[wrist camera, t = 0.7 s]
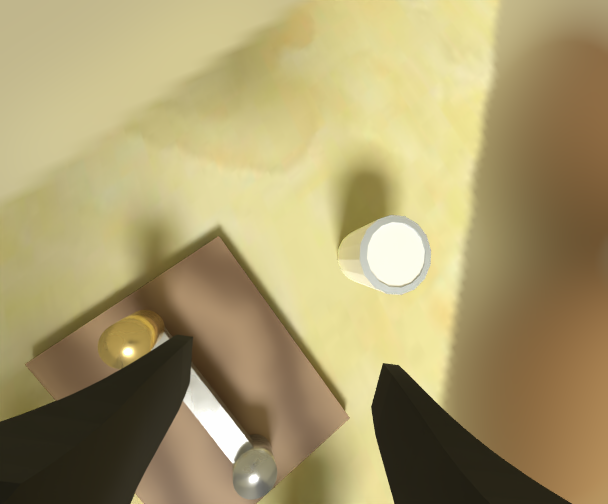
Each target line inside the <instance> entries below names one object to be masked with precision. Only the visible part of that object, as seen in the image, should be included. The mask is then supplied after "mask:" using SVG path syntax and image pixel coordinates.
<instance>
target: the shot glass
mask: <svg viewBox="0 0 608 504" xmlns="http://www.w3.org/2000/svg"><path fill="white" fill-rule="evenodd" d="M337 260H338V263H339V266H340V269H341V271H342V272H343V273H344V274H345V275H346V277H347V278H349V279H351V280H353V281H355V282H357V283H360V284H363V285H365V286H368V287H370V288H373V289H376V290H378V291H381V292H384V293H386V294H400V295H402V294H404V293H407V292H409V291H411V290H414V289H415V288H416V287H417V286H418V285H419V284H420V283H421V282H422V281H423V280H424V279H425V277H426V274H427V272H428V269H429V267H430V260H431V249H430V245H429V242H428V239H427V236H426V234H425V233H424V232H423V230H422V229H421V228H420V226H419V225H418V224H417V223H415V222H414V221H412V220H410V219H409V218H407V217H405V216H397V215H390V216H387V217H384V218H381V219H378V220H376V221H374V222H372V223H370V224H367V225H365V226H363V227H361V228H359V229H357V230H355V231H353V232H351V233H349V234H348V235H347V236H346V237H345V238H344V239H343V240H342V242H341V244H340V246H339V248H338V259H337Z"/></svg>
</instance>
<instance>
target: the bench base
mask: <svg viewBox="0 0 608 504" xmlns="http://www.w3.org/2000/svg"><path fill="white" fill-rule="evenodd" d="M139 310H151V311H153V312H155V313H157V314H158V315H159V316H160V317H161V318H162V320H163V322H164V326H165V328H166V329H167V330H168V332H169V333H170V334H171V335H172V337H173V336H175V335H184V336H191V337H193V346H192V362H193V364H194V365H195V366H196V368H197V369H198V370H199V372H200V373H201V374H202V375H203V377H204V378H205V379H206V381H207V382H208V383H209V384H210V386H211V387H212V388H213V390H214V391H215V392H216V393H217V395H218V396H219V397H220V399H221V400H222V401H223V402H224V404H225V405H226V406H227V408H228V409H229V410H230V411H231V413H232V414H233V415H234V417H235V418H236V419H237V421H238V422H239V423H240V424H241V426H242V427H243V428H244V430H245V431H246V432H247V433H248V435H253V434H257V435H261V436H263V437H265V438H266V439H267V440H268V441H269V442H270V444H271V448H272V451H273V455H274V459H275V463H276V467H277V479H276V482H275V484H274V486H273V488H274V487H275V486H276V485H277V484H278V483H279V482H280V481H281V480H283V479H284V478H285V477H286V476H287V475H288V474H289V473H290V472H291V471H292V470H294V469H295V468H296V467H297V466H298V465H299V464H300V463H301V462H302V461H303V460H304V459H306V458H307V457H308V456H309V455H310V454H311V453H312V452H313V451H314V450H315V449H317V448H318V447H319V446H320V445H321V444H322V443H323V442H324V441H325V440H326V439H328V438H329V437H330V436H331V435H332V434H333V433H334V432H335V431H336V430H337V429H339V428H340V427H341V426H342V425H343V424H344V423H345V422H346V421H347V420H348V419H349V416H348V415H347V413H346V412H345V411H344V409H343V408H342V406H341V405H340V404H339V402H338V401H337V399H336V398H335V397H334V395H333V394H332V393H331V391H330V390H329V388H328V387H327V386H326V384H325V383H324V381H323V380H322V379H321V377H320V376H319V374H318V373H317V372H316V370H315V369H314V367H313V366H312V365H311V363H310V362H309V361H308V359H307V358H306V356H305V355H304V354H303V352H302V351H301V349H300V348H299V347H298V345H297V344H296V342H295V341H294V340H293V338H292V337H291V336H290V334H289V333H288V331H287V330H286V329H285V327H284V326H283V324H282V323H281V322H280V320H279V319H278V317H277V316H276V315H275V313H274V312H273V310H272V309H271V308H270V306H269V305H268V304H267V302H266V301H265V299H264V298H263V297H262V295H261V294H260V292H259V291H258V290H257V288H256V287H255V285H254V284H253V283H252V281H251V280H250V279H249V277H248V276H247V274H246V273H245V272H244V270H243V269H242V267H241V266H240V265H239V263H238V262H237V260H236V259H235V258H234V256H233V255H232V253H231V252H230V251H229V249H228V248H227V247H226V245H225V244H224V242H223V241H222V240H221V238H220V237H219V236H218V237H216V238H215V239H213V240H212V241H210V242H209V243H207V244H206V245H204V246H203V247H201V248H200V249H198V250H197V251H195V252H194V253H192V254H191V255H189V256H188V257H186V258H185V259H183V260H182V261H180V262H179V263H177V264H176V265H174V266H173V267H171V268H170V269H168V270H167V271H165V272H163V273H162V274H160V275H159V276H157V277H156V278H154V279H153V280H151V281H150V282H148V283H147V284H145V285H144V286H142V287H141V288H139V289H138V290H136V291H135V292H133V293H132V294H130V295H129V296H127V297H126V298H124V299H123V300H121V301H120V302H118V303H117V304H115V305H114V306H112V307H111V308H109V309H108V310H106V311H104V312H103V313H101V314H100V315H98V316H97V317H95V318H94V319H92V320H91V321H89V322H88V323H86V324H85V325H83V326H82V327H80V328H79V329H77V330H76V331H74V332H73V333H71V334H70V335H68V336H67V337H65V338H64V339H62V340H61V341H59V342H58V343H56V344H55V345H53V346H52V347H50V348H49V349H47V350H45V351H44V352H42V353H41V354H39V355H38V356H36V357H35V358H33V359H32V360H30V361H29V362H27V363H26V364H25V365H26V366H27V367H28V369H29V370H30V371H31V372H32V373H33V374H34V376H35V377H36V378H37V379H38V380H39V381H40V383H41V384H42V385H43V386H44V387H45V388H46V390H47V391H48V392H49V393H50V394H51V395H52V397H53V398H54V399H55V400H56V401H57V400H59V399H62V398H64V397H67V396H69V395H71V394H73V393H76V392H78V391H80V390H82V389H84V388H86V387H88V386H90V385H92V384H94V383H96V382H98V381H100V380H102V379H104V378H106V377H108V376H110V375H111V374H113V373H115V372H117V371H118V370H120V369H116V368H112V367H110V366H108V365H107V364H105V363H104V362H103V361H102V359H101V358H100V356H99V353H98V341H99V338H100V336H101V335H102V333H103V332H104V331H105V330H106V329H107V328H108V327H109V326H111V325H113V324H114V323H116V322H118V321H120V320H122V319H123V318H125V317H127V316H129V315H131V314H132V313H134V312H136V311H139ZM273 488H272V489H273ZM272 489H271V490H272ZM135 494H136V495H137V496H138V497H139V498H140V499H141V501H142V502H143V503H144V504H256V503H257V502H258V501H260V500H261V499H262V498H263V497H264V496H265V495H264V496H263V497H261V498H258V499H252V500H251V499H245V498H243V497H241V496H240V495H238V493H237V492H236V491H235V489H234V486H233V472H232V462H231V460H230V459H229V458H228V457H227V455H226V454H225V453H224V452H223V450H222V449H221V448H220V447H219V445H218V444H217V443H216V442H215V440H214V439H213V438H212V437H211V435H210V434H209V433H208V432H207V430H206V429H205V428H204V426H203V425H202V424H201V423H200V421H199V420H198V419H197V418H196V416H195V415H194V414H193V413H192V411H191V410H190V409H189V408H188V406H187V405H186V404H185V403H184V401H183V402H182V404H181V407H180V409H179V411H178V413H177V415H176V416H175V418H174V420H173V422H172V424H171V426H170V428H169V429H168V431H167V433H166V435H165V437H164V438H163V440H162V442H161V444H160V446H159V448H158V449H157V451H156V453H155V455H154V457H153V458H152V460H151V462H150V464H149V466H148V467H147V469H146V471H145V473H144V475H143V477H142V479H141V481H140V483H139V485H138V487H137V490H136V492H135Z"/></svg>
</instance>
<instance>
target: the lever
mask: <svg viewBox="0 0 608 504" xmlns="http://www.w3.org/2000/svg"><path fill="white" fill-rule="evenodd" d="M170 338H172V335H171V334H170V333H169V332H168V330H167V329H166V328H165V326H164V322H163V320H162V318H161V317H160V316H159V315H158V314H157V313H155V312H153V311H151V310H139V311H136V312H134V313H132V314H131V315H129V316H127V317H125V318H123V319H122V320H120V321H118V322H116V323H114V324H113V325H111V326H109V327H108V328H107V329H106V330H105V331H104V332H103V333H102V335H101V336H100V338H99V341H98V353H99V356H100V358H101V359H102V361H103V362H104V363H105V364H107V365H108V366H110V367H112V368H116V369H122V368H124V367H125V366H127V365H129V364H131V363H132V362H134V361H136V360H137V359H139V358H140V357H142V356H144V355H145V354H147V353H148V352H150V351H152V350H153V349H155V348H156V347H158V346H159V345H161V344H162V343H164V342H165V341H167V340H169V339H170ZM183 401H184V403H185V404H186V405H187V406H188V408H189V409H190V410H191V411H192V413H193V414H194V415H195V416H196V418H197V419H198V420H199V421H200V423H201V424H202V425H203V426H204V428H205V429H206V430H207V432H208V433H209V434H210V435H211V437H212V438H213V439H214V440H215V442H216V443H217V444H218V445H219V447H220V448H221V449H222V450H223V452H224V453H225V454H226V455H227V457H228V458H229V459H230V460H231V462H232V472H233V486H234V489H235V491H236V492H237V493H238V495H240V496H241V497H243V498H245V499H251V500H252V499H258V498H261V497H263V496H264V495H266V494H267V493H268V492H269V491H270V490H271V489H272V488H273V486H274V484H275V482H276V479H277V467H276V463H275V459H274V455H273V451H272V448H271V444H270V442H269V441H268V440H267V439H266V438H265V437H263V436H261V435H257V434H253V435H248V433H247V432H246V431H245V430H244V428H243V427H242V426H241V424H240V423H239V422H238V421H237V419H236V418H235V417H234V415H233V414H232V413H231V411H230V410H229V409H228V408H227V406H226V405H225V404H224V402H223V401H222V400H221V399H220V397H219V396H218V395H217V393H216V392H215V391H214V390H213V388H212V387H211V386H210V384H209V383H208V382H207V381H206V379H205V378H204V377H203V375H202V374H201V373H200V372H199V370H198V369H197V368H196V366H195V365H194V364H193V362H192V361H191V376H190V384H189V387H188V389H187V392H186V394H185V397H184V399H183Z"/></svg>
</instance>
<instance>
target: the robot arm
mask: <svg viewBox="0 0 608 504" xmlns="http://www.w3.org/2000/svg"><path fill="white" fill-rule="evenodd" d="M192 346H193V337H191V336H184V335H175V336H173V337H172V338H170V339H169V340H167V341H165V342H164V343H162V344H161V345H159V346H158V347H156V348H155V349H153V350H152V351H150V352H148V353H147V354H145V355H144V356H142V357H140V358H139V359H137V360H136V361H134V362H132V363H131V364H129V365H127V366H125V367H124V368H122V369H120V370H118V371H117V372H115V373H113V374H111V375H110V376H108V377H106V378H104V379H102V380H100V381H98V382H96V383H94V384H92V385H90V386H88V387H86V388H84V389H82V390H80V391H78V392H76V393H73V394H71V395H69V396H67V397H64V398H62V399H59V400H57V401H55V402H52V403H50V404H47V405H45V406H42V407H40V408H37V409H35V410H32V411H30V412H27V413H24V414H21V415H19V416H16V417H13V418H10V419H7V420H4V421H1V422H0V504H130V503H131V501H132V499H133V496H134V494H135V492H136V490H137V487H138V485H139V483H140V481H141V479H142V477H143V475H144V473H145V471H146V469H147V467H148V466H149V464H150V462H151V460H152V458H153V457H154V455H155V453H156V451H157V449H158V448H159V446H160V444H161V442H162V440H163V438H164V437H165V435H166V433H167V431H168V429H169V428H170V426H171V424H172V422H173V420H174V418H175V416H176V415H177V413H178V411H179V409H180V407H181V404H182V402H183V399H184V397H185V394H186V392H187V389H188V387H189V384H190V376H191V361H192ZM371 408H372V416H373V423H374V429H375V435H376V439H377V442H378V446H379V450H380V453H381V457H382V460H383V464H384V468H385V471H386V475H387V478H388V482H389V485H390V489H391V492H392V496H393V500H394V504H572V503H570V502H568V501H567V500H565V499H563V498H562V497H560V496H558V495H557V494H555V493H553V492H552V491H550V490H548V489H547V488H545V487H544V486H542V485H540V484H539V483H538V482H536V481H534V480H533V479H531V478H530V477H528V476H527V475H525V474H524V473H522V472H521V471H520V470H518V469H517V468H515V467H514V466H512V465H511V464H509V463H508V462H507V461H505V460H504V459H502V458H501V457H500V456H498V455H497V454H496V453H494V452H493V451H492V450H490V449H489V448H488V447H487V446H485V445H484V444H482V442H480V441H479V440H478V439H476V438H475V437H474V436H473V435H472V434H470V433H469V432H468V431H467V430H466V429H464V428H463V427H462V426H461V425H460V424H459V423H458V422H456V421H455V420H454V419H453V418H452V417H451V416H450V415H449V414H448V413H447V412H446V411H445V410H443V409H442V408H441V407H440V406H439V405H438V404H437V403H436V402H435V401H434V400H433V399H432V398H431V397H430V396H429V395H428V394H427V393H426V392H425V391H424V390H423V389H422V388H421V387H420V386H419V385H418V384H417V383H416V382H415V381H414V380H413V379H412V378H411V377H410V376H409V375H408V374H407V373H406V372H405V371H404V370H403V369H402V368H401V367H400V366H399V365H393V364H385V363H383V365H382V369H381V373H380V376H379V380H378V384H377V388H376V391H375V395H374V399H373V402H372V406H371Z"/></svg>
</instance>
